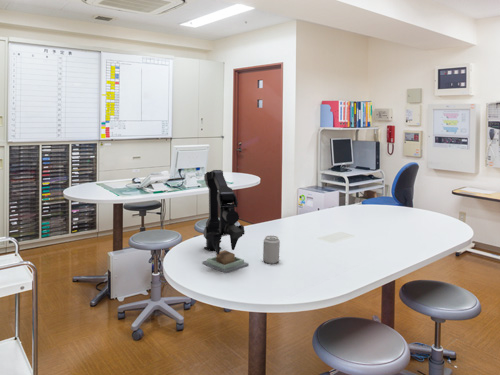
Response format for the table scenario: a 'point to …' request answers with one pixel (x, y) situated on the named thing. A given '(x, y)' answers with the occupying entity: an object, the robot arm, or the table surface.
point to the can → (271, 249)
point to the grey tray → (225, 268)
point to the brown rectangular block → (225, 257)
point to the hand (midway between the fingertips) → (225, 251)
